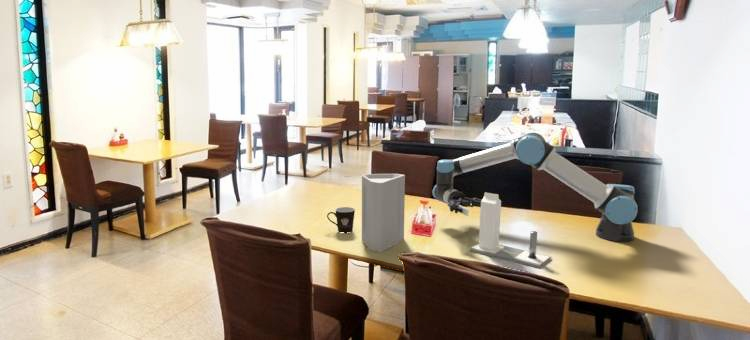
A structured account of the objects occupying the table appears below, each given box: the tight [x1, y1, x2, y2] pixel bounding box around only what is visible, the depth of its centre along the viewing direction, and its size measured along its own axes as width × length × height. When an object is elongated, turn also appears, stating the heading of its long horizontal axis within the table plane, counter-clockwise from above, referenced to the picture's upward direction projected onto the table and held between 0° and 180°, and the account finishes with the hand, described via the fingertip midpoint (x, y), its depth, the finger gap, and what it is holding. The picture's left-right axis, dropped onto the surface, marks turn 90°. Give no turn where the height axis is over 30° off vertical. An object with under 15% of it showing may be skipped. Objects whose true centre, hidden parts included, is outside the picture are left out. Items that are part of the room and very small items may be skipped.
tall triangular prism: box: [361, 173, 406, 253], centre depth 205 cm, size 19×15×28 cm
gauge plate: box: [469, 243, 552, 269], centre depth 194 cm, size 28×12×1 cm, turn 51°
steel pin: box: [528, 230, 538, 258], centre depth 187 cm, size 2×2×10 cm
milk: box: [478, 191, 502, 250], centre depth 197 cm, size 6×6×22 cm
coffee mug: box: [326, 206, 356, 234], centre depth 222 cm, size 12×9×10 cm
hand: (482, 211), depth 201 cm, fingers open, 13 cm apart
